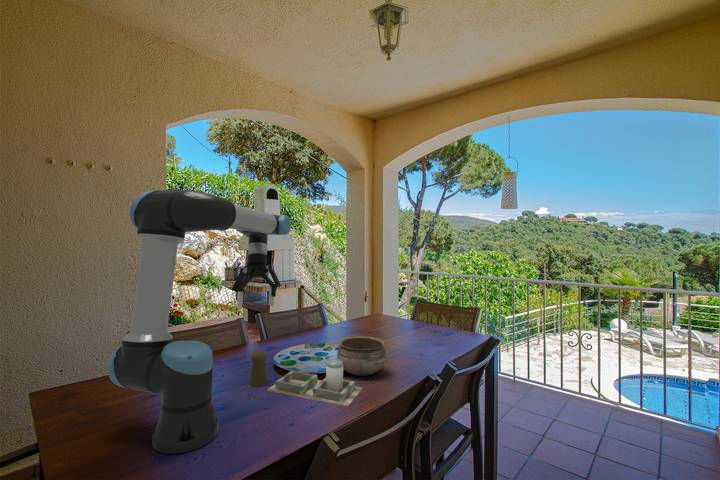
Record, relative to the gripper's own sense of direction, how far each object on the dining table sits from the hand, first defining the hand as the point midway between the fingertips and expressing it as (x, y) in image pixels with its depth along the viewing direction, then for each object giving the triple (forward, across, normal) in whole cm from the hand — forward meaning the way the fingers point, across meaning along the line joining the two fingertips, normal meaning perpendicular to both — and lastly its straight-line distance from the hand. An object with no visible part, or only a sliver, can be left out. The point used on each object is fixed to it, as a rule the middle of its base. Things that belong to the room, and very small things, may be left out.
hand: (255, 307), depth 133 cm
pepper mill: (+28, -4, +2) cm, 28 cm away
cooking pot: (+27, -37, -16) cm, 49 cm away
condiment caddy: (+31, -26, +3) cm, 41 cm away
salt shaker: (+31, -33, +4) cm, 45 cm away
